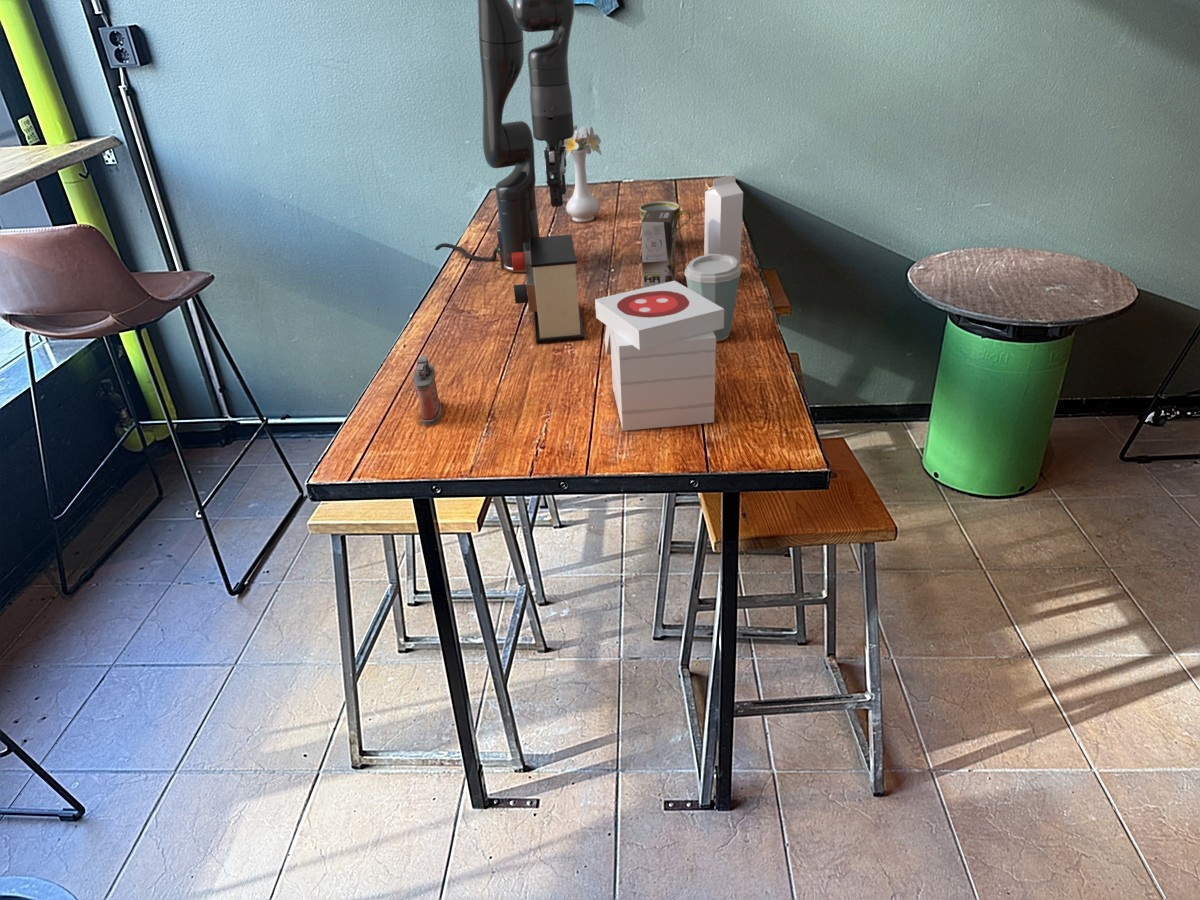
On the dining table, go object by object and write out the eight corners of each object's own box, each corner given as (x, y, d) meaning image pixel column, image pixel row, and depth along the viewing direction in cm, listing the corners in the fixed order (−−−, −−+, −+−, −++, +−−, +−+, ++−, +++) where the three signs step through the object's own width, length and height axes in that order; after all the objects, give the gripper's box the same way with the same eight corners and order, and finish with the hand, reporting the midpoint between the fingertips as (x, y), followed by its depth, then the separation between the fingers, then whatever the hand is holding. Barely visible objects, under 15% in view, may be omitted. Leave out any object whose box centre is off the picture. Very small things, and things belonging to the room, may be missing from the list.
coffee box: (671, 294, 181) (670, 221, 172) (642, 294, 182) (640, 221, 174) (676, 279, 188) (676, 209, 180) (648, 279, 190) (646, 209, 181)
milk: (740, 276, 189) (744, 177, 177) (718, 281, 186) (722, 182, 174) (724, 268, 193) (727, 172, 181) (702, 274, 191) (705, 176, 179)
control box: (532, 344, 162) (524, 266, 154) (530, 310, 177) (522, 237, 169) (585, 339, 163) (579, 261, 154) (578, 306, 178) (573, 233, 169)
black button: (515, 306, 161) (513, 288, 159) (515, 299, 164) (513, 282, 162) (528, 305, 161) (526, 287, 159) (527, 298, 164) (525, 281, 162)
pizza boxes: (692, 349, 157) (693, 257, 147) (728, 427, 131) (732, 322, 122) (592, 358, 156) (586, 265, 146) (609, 439, 130) (603, 333, 121)
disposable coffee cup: (725, 351, 155) (727, 274, 147) (674, 340, 160) (674, 266, 152) (747, 330, 163) (751, 256, 155) (698, 321, 168) (699, 249, 160)
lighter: (423, 403, 144) (413, 351, 138) (443, 401, 144) (434, 349, 139) (418, 426, 137) (408, 372, 132) (439, 424, 137) (429, 370, 132)
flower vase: (602, 208, 242) (597, 117, 229) (607, 226, 226) (602, 130, 213) (557, 211, 241) (550, 121, 228) (560, 229, 226) (552, 134, 213)
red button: (513, 273, 166) (511, 256, 164) (513, 267, 169) (511, 250, 168) (525, 272, 166) (523, 255, 165) (525, 266, 170) (523, 249, 168)
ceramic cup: (634, 250, 207) (633, 211, 202) (647, 238, 215) (647, 200, 210) (684, 254, 203) (684, 214, 198) (695, 242, 211) (696, 202, 205)
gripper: (535, 104, 156) (542, 191, 165) (527, 118, 144) (535, 211, 153) (574, 102, 156) (580, 189, 164) (569, 116, 144) (576, 209, 152)
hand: (558, 200), depth 159 cm, fingers open, 8 cm apart
